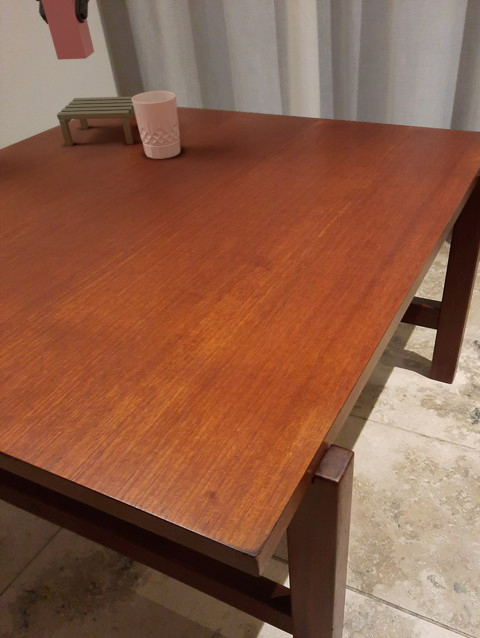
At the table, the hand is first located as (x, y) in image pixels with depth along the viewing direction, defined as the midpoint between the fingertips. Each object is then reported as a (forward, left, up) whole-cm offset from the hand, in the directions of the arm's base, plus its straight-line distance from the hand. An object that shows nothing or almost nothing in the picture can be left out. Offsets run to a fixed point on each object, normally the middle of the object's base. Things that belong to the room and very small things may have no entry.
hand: (63, 19), depth 92 cm
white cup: (+13, 0, -22) cm, 26 cm away
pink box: (0, +2, -6) cm, 6 cm away
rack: (-1, +11, -22) cm, 25 cm away
